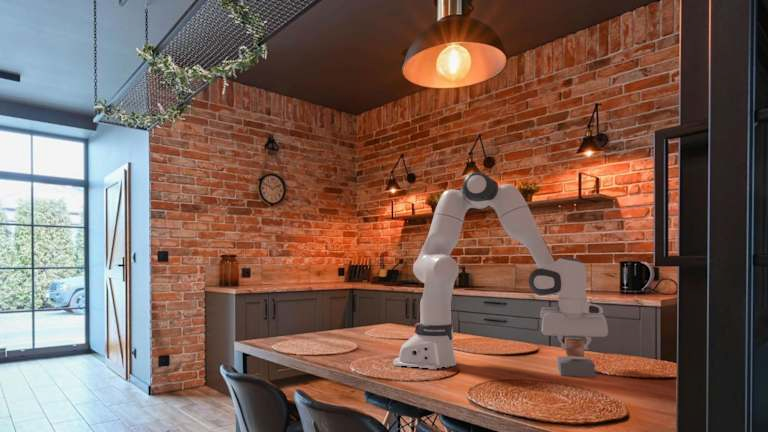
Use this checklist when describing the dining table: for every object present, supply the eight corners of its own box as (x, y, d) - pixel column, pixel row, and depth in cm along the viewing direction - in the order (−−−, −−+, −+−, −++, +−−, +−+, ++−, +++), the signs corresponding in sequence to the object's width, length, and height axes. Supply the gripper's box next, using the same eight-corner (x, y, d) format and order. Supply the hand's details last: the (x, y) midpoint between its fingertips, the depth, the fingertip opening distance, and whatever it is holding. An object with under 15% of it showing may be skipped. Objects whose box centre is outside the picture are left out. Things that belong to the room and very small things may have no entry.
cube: (567, 356, 157) (567, 340, 157) (565, 353, 161) (565, 337, 162) (584, 356, 155) (583, 340, 156) (582, 353, 160) (581, 338, 161)
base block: (561, 375, 154) (560, 362, 155) (557, 368, 164) (557, 356, 164) (595, 377, 152) (594, 364, 152) (589, 369, 162) (589, 357, 162)
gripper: (540, 307, 159) (542, 350, 158) (608, 308, 154) (610, 352, 153) (539, 305, 165) (540, 347, 164) (604, 306, 160) (606, 349, 159)
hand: (574, 349), depth 159 cm, fingers closed on cube, 5 cm apart
